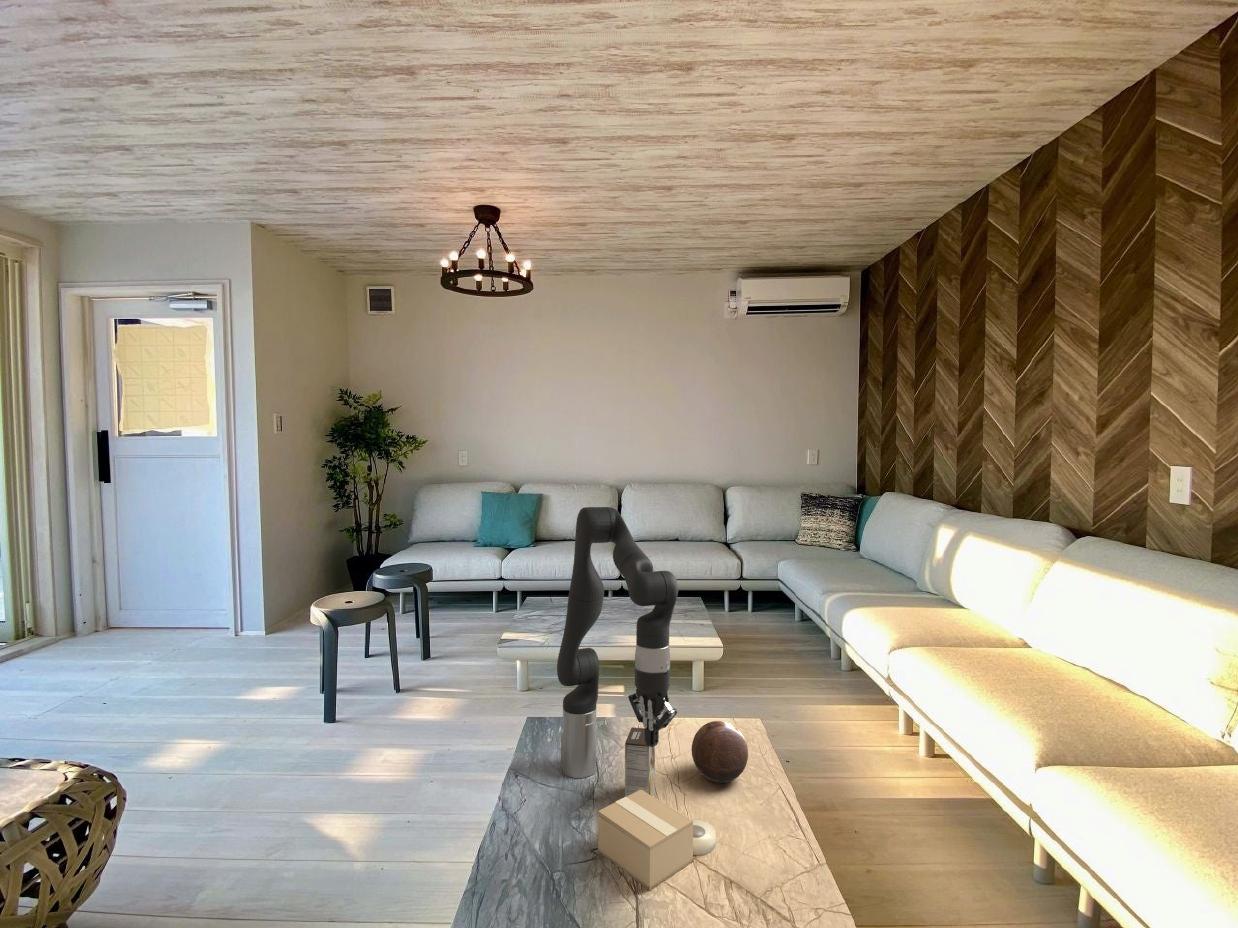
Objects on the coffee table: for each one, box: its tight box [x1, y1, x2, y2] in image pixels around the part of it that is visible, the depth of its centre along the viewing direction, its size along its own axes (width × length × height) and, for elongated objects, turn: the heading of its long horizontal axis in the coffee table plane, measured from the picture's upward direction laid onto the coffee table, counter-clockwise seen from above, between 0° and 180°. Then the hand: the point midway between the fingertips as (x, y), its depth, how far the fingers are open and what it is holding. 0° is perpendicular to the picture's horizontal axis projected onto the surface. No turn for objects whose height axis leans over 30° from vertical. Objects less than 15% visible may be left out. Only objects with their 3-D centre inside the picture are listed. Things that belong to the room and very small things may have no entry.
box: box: [597, 815, 694, 891], centre depth 132 cm, size 16×13×8 cm
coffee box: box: [624, 727, 656, 797], centre depth 154 cm, size 9×6×16 cm
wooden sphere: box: [691, 720, 749, 784], centre depth 164 cm, size 15×15×15 cm
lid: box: [597, 790, 693, 851], centre depth 132 cm, size 16×13×1 cm
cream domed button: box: [691, 819, 717, 856], centre depth 137 cm, size 9×9×2 cm
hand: (651, 744), depth 130 cm, fingers closed
